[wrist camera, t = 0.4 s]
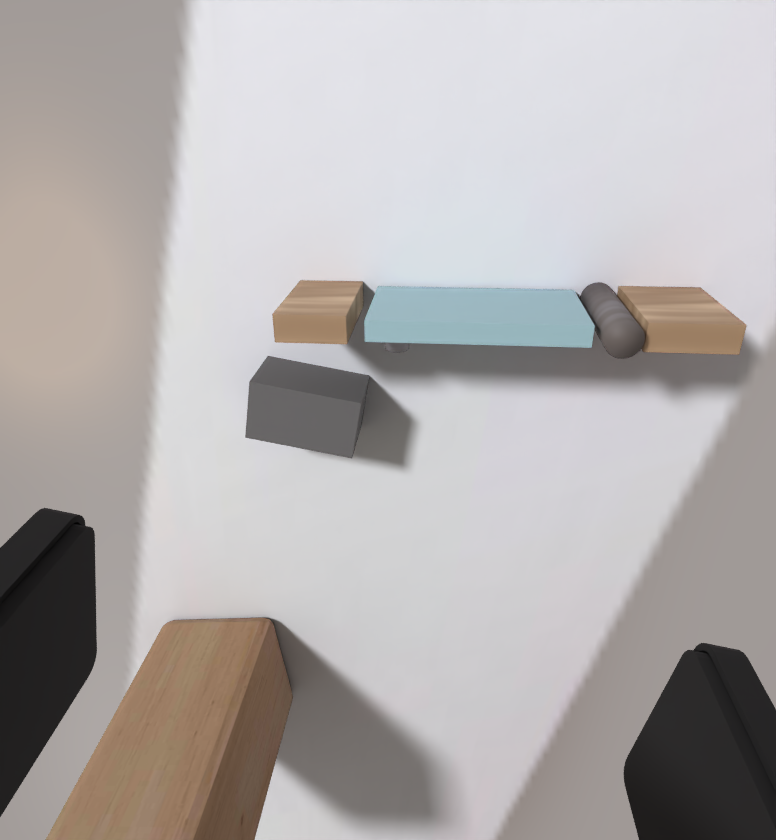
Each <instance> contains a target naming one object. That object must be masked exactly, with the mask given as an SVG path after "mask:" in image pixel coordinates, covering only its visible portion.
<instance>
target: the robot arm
mask: <svg viewBox="0 0 776 840" xmlns="http://www.w3.org/2000/svg"><path fill="white" fill-rule="evenodd" d="M94 536H95V535H94V530H93V528H91V527H87V526H85V520H84V518H83V517H82V516H80V515H77V514H72V513H67V512H62V511H57V510H52V509H47V508H44V509H40V510H39V511H38V512H36V513H35V514H34V515H33V516H32V517H31V518H30V519H29V520H28V521H27V522H26V523H25V524H24V525H23V526H22V527H21V528H20V529H19V530H18V531H17V532H16V533H15V534H14V535H13V536H12V537H11V538H10V539H9V540H8V541H7V542H6V543H5V544H4V545H3V546H2V547H1V548H0V817H1V815H2V813H3V812H4V810H5V809H6V807H7V805H8V804H9V802H10V801H11V799H12V798H13V796H14V794H15V793H16V791H17V790H18V788H19V786H20V785H21V783H22V782H23V780H24V778H25V777H26V775H27V774H28V772H29V770H30V769H31V767H32V766H33V764H34V762H35V761H36V759H37V758H38V756H39V754H40V753H41V751H42V750H43V748H44V747H45V745H46V743H47V742H48V740H49V738H50V737H51V735H52V734H53V732H54V731H55V729H56V727H57V726H58V724H59V723H60V721H61V720H62V718H63V716H64V715H65V713H66V711H67V710H68V708H69V707H70V705H71V704H72V702H73V700H74V699H75V697H76V695H77V694H78V692H79V691H80V689H81V688H82V686H83V684H84V683H85V681H86V680H87V678H88V676H89V675H90V673H91V671H92V668H93V666H94V662H95V658H96V653H97V642H96V586H95V537H94ZM624 782H625V787H626V791H627V795H628V799H629V803H630V806H631V810H632V814H633V818H634V822H635V825H636V829H637V833H638V837H639V840H776V709H775V707H774V705H773V704H772V702H771V700H770V698H769V696H768V695H767V693H766V691H765V689H764V687H763V685H762V684H761V682H760V680H759V678H758V676H757V674H756V672H755V671H754V669H753V667H752V665H751V663H750V661H749V660H748V658H747V657H746V655H745V654H744V653H743V652H741V651H740V650H736V649H730V648H726V647H721V646H716V645H712V644H707V643H701V644H699V645H698V646H696V648H695V649H694V650H687V651H686V652H684V654H683V655H682V657H681V659H680V661H679V662H678V664H677V666H676V668H675V670H674V672H673V674H672V676H671V677H670V679H669V681H668V683H667V685H666V686H665V688H664V690H663V692H662V694H661V696H660V698H659V699H658V701H657V703H656V705H655V707H654V709H653V711H652V712H651V714H650V716H649V718H648V720H647V722H646V723H645V725H644V727H643V729H642V731H641V733H640V735H639V736H638V738H637V740H636V742H635V744H634V746H633V748H632V749H631V751H630V753H629V755H628V757H627V759H626V762H625V766H624Z"/></svg>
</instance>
